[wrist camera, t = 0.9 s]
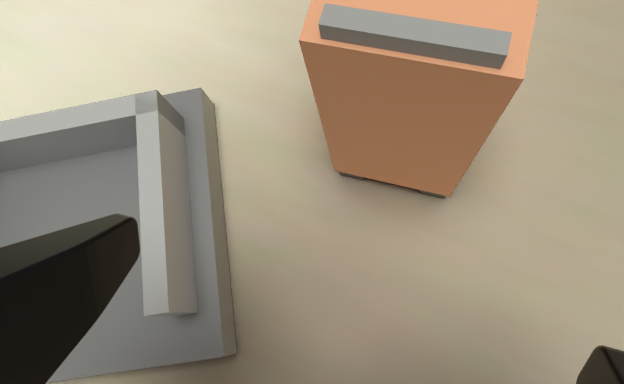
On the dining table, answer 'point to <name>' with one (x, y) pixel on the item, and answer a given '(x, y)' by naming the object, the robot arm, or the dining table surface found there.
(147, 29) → the dining table surface
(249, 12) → the dining table surface
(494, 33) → the peach block
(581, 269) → the dining table surface
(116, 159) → the dock
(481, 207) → the dining table surface
